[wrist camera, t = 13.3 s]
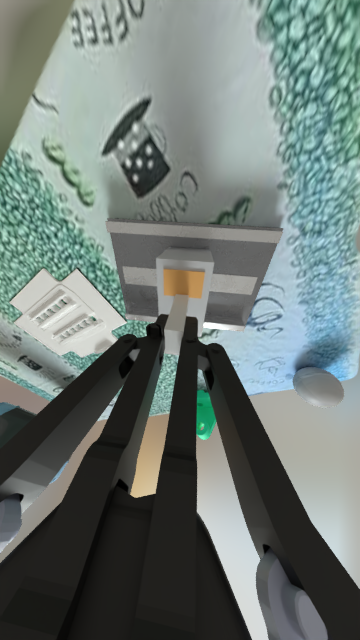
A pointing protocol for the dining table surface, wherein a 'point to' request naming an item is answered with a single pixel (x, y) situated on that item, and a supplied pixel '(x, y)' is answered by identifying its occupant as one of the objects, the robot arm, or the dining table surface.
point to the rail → (222, 240)
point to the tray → (67, 314)
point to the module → (185, 280)
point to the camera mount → (204, 415)
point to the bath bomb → (318, 387)
